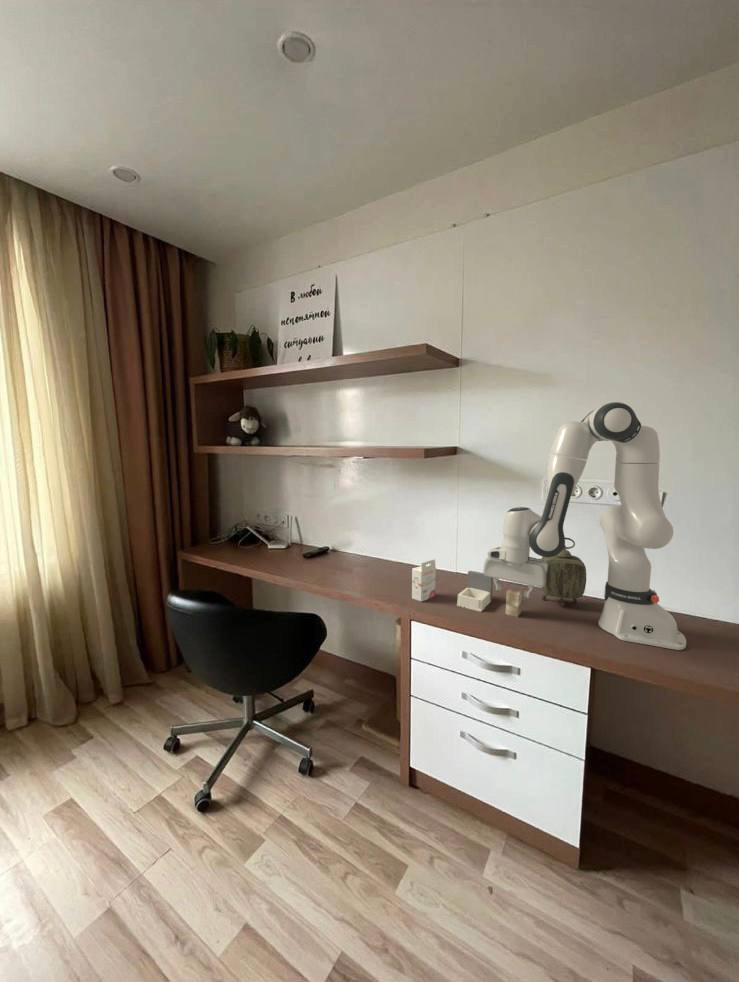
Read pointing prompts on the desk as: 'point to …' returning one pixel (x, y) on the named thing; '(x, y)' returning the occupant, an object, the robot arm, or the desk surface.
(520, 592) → the rail end bracket
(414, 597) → the ink cartridge box
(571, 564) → the tabletop clock
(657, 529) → the robot arm
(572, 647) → the desk surface
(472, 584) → the post socket
